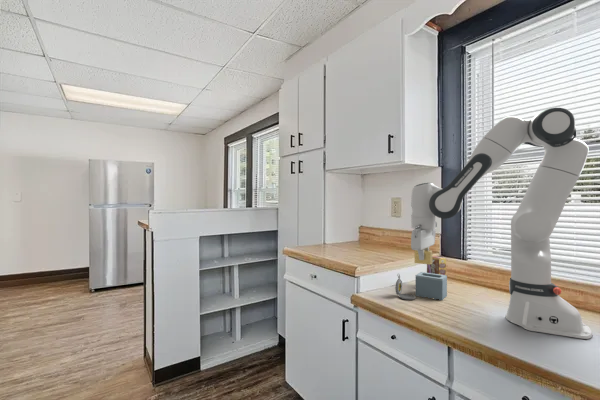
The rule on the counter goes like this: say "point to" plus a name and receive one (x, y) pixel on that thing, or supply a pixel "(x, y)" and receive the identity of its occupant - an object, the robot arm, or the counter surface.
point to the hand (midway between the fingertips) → (423, 258)
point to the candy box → (437, 265)
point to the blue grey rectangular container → (431, 285)
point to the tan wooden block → (427, 257)
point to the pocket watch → (399, 289)
